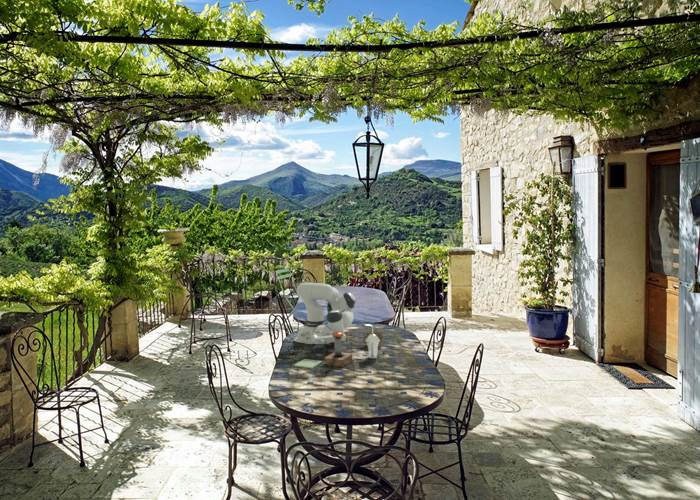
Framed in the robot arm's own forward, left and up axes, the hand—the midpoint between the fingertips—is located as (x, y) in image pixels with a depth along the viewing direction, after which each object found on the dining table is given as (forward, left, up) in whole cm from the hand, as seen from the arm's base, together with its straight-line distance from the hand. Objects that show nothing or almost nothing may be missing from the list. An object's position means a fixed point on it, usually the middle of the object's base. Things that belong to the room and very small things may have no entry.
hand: (332, 341), depth 314 cm
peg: (+8, -9, -9) cm, 15 cm away
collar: (+8, -9, -9) cm, 15 cm away
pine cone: (+9, +28, -10) cm, 31 cm away
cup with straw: (+22, +8, -10) cm, 26 cm away
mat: (-7, -18, -9) cm, 21 cm away
